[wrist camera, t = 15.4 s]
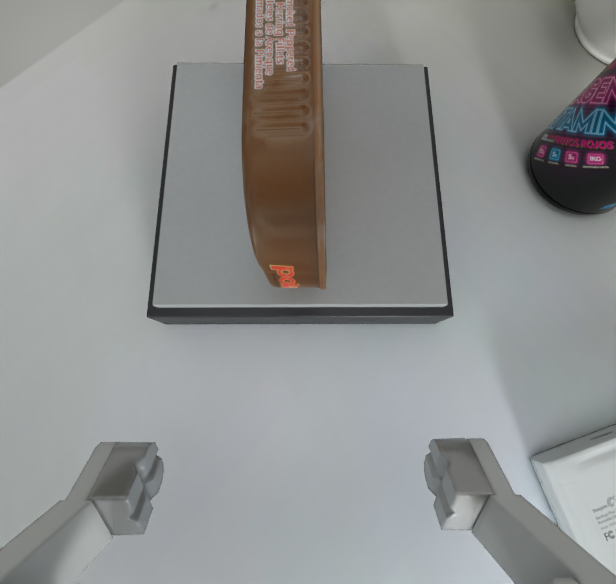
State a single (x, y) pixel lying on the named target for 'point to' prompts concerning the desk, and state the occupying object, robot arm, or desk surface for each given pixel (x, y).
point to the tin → (285, 141)
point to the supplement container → (580, 151)
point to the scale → (338, 205)
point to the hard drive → (584, 491)
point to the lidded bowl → (597, 27)
